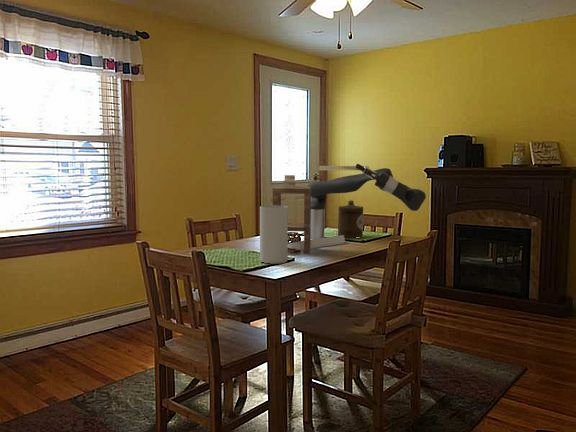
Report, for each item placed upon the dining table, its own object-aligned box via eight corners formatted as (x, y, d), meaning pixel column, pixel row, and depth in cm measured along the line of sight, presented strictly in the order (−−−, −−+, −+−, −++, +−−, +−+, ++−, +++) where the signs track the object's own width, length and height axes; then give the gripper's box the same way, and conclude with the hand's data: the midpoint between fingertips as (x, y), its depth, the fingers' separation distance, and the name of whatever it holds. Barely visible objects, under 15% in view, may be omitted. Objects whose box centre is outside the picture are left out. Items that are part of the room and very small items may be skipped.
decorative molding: (287, 253, 270) (300, 250, 263) (286, 244, 271) (298, 241, 263) (332, 246, 293) (345, 243, 285) (331, 237, 293) (343, 235, 286)
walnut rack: (276, 247, 270) (276, 186, 267) (310, 248, 269) (310, 186, 265) (272, 253, 254) (272, 188, 251) (309, 253, 253) (309, 188, 249)
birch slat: (319, 170, 255) (319, 166, 255) (368, 170, 253) (368, 166, 253) (319, 170, 251) (319, 166, 250) (368, 170, 249) (368, 166, 248)
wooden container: (364, 238, 301) (365, 201, 298) (338, 238, 301) (339, 201, 299) (361, 235, 316) (361, 199, 313) (336, 235, 316) (337, 199, 313)
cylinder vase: (269, 257, 242) (269, 204, 239) (292, 260, 235) (292, 206, 233) (254, 262, 231) (254, 207, 228) (278, 265, 225) (278, 208, 222)
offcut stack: (283, 186, 265) (283, 175, 264) (295, 186, 264) (295, 175, 264) (282, 187, 260) (282, 175, 260) (294, 187, 260) (294, 175, 259)
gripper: (389, 175, 257) (359, 158, 258) (392, 176, 243) (361, 158, 243) (381, 188, 258) (351, 171, 259) (384, 190, 244) (352, 172, 244)
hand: (356, 165), depth 251 cm, fingers closed on birch slat, 4 cm apart
